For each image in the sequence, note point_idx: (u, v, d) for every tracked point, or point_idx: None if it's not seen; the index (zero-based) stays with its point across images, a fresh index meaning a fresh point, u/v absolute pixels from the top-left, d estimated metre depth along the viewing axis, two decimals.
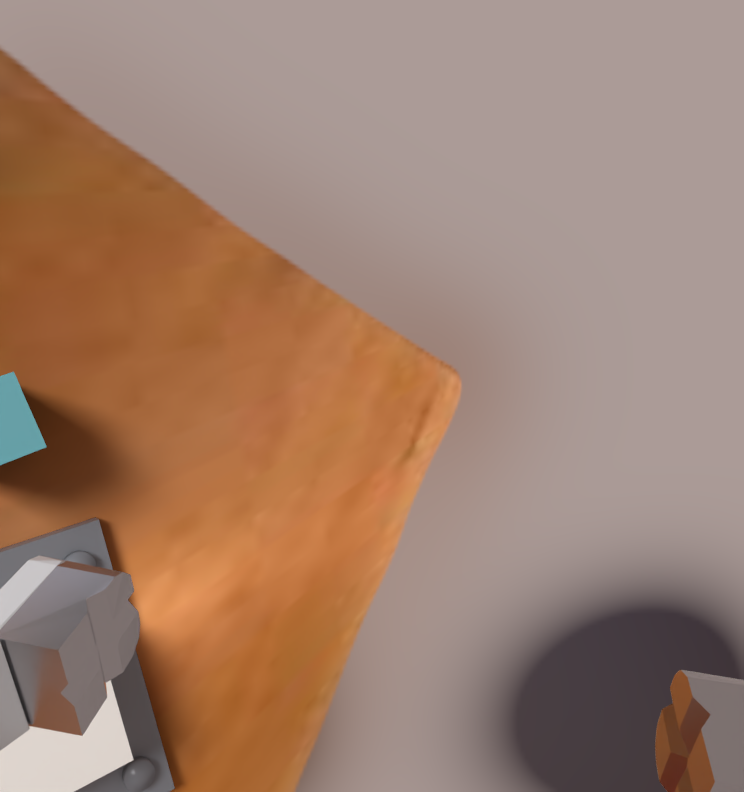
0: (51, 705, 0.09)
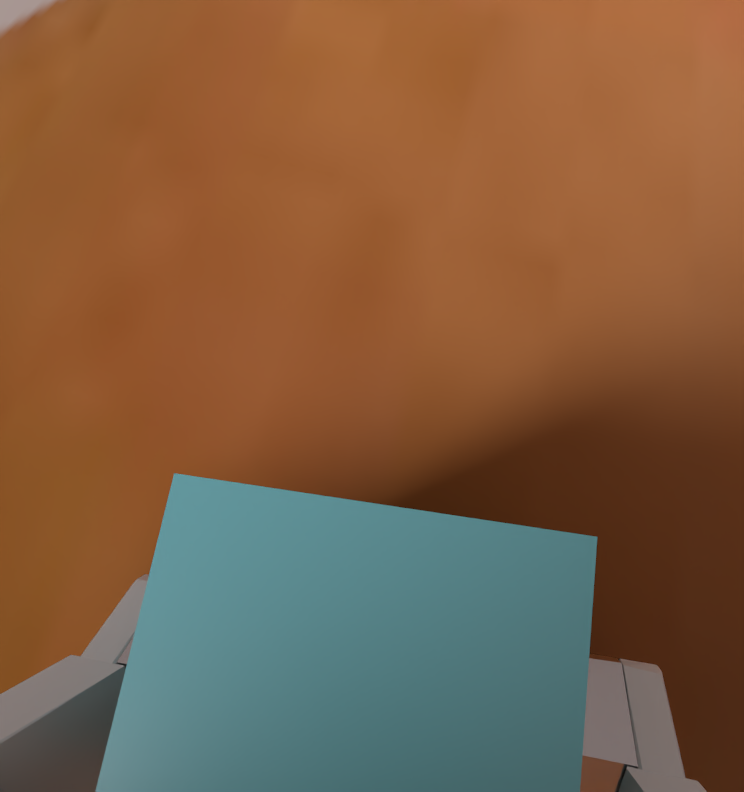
0: None
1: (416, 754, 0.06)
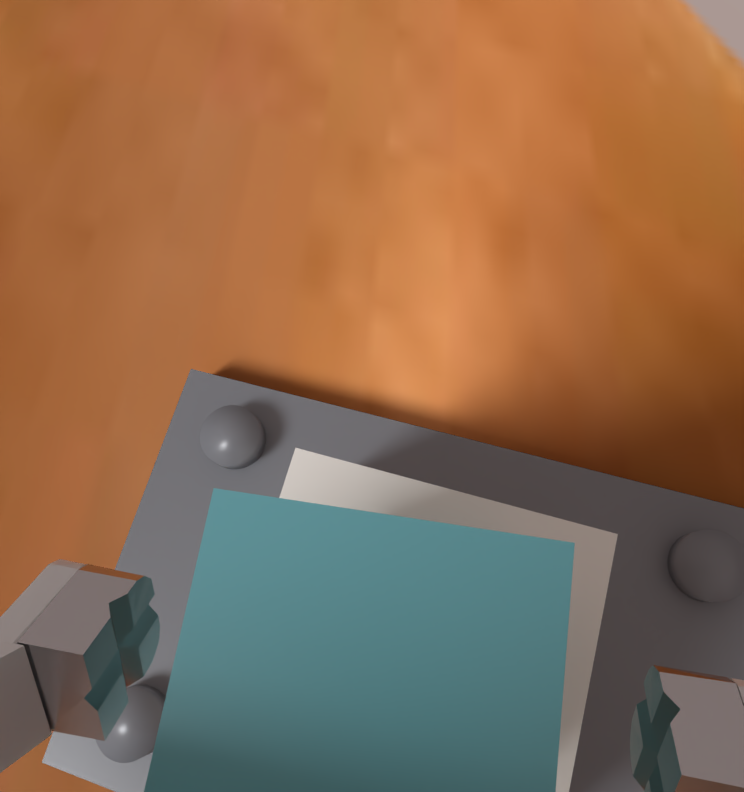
0: (74, 710, 0.09)
1: (422, 725, 0.07)
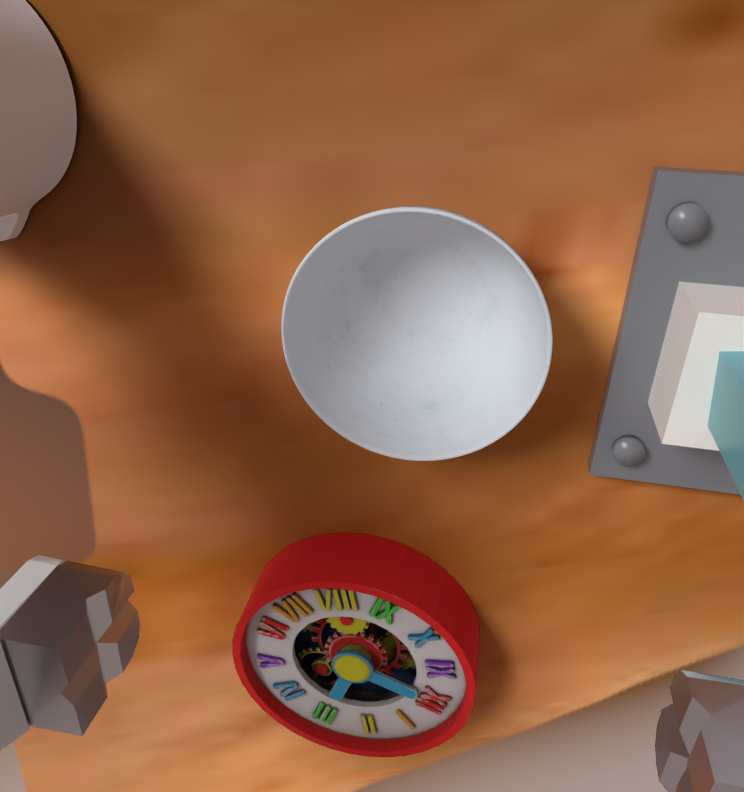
0: (51, 705, 0.09)
1: None
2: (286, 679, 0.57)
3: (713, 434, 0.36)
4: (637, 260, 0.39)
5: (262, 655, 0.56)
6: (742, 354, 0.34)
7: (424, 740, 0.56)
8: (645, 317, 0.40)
